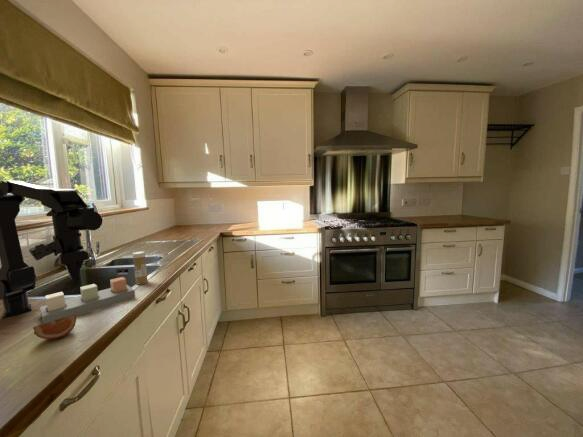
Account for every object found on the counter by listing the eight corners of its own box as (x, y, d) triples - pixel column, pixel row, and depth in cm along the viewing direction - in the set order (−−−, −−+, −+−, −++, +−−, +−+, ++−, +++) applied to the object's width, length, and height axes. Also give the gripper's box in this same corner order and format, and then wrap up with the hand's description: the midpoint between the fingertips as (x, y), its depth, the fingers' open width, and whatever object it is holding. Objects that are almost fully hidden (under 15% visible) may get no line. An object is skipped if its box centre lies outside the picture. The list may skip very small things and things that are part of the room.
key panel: (41, 315, 80) (39, 306, 80) (126, 291, 98) (126, 283, 98) (43, 326, 74) (42, 316, 73) (135, 297, 91) (134, 290, 91)
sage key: (81, 300, 85) (79, 287, 85) (96, 296, 88) (94, 283, 88) (84, 303, 83) (82, 290, 82) (98, 299, 86) (97, 286, 85)
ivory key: (47, 310, 79) (45, 295, 78) (64, 305, 82) (62, 291, 81) (48, 313, 76) (46, 299, 76) (66, 308, 79) (63, 294, 79)
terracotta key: (111, 292, 92) (109, 279, 91) (124, 288, 95) (122, 276, 94) (114, 295, 89) (112, 282, 88) (127, 291, 92) (125, 278, 91)
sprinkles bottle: (133, 284, 105) (129, 253, 103) (142, 280, 109) (139, 250, 108) (141, 285, 104) (138, 254, 102) (150, 281, 108) (147, 251, 106)
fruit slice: (35, 349, 62) (32, 330, 62) (35, 338, 67) (32, 321, 66) (79, 334, 68) (76, 317, 68) (76, 326, 73) (73, 309, 72)
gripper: (27, 231, 76) (35, 281, 78) (30, 238, 63) (39, 296, 65) (75, 226, 84) (81, 271, 86) (86, 231, 72) (93, 283, 73)
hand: (74, 279), depth 77 cm, fingers closed
